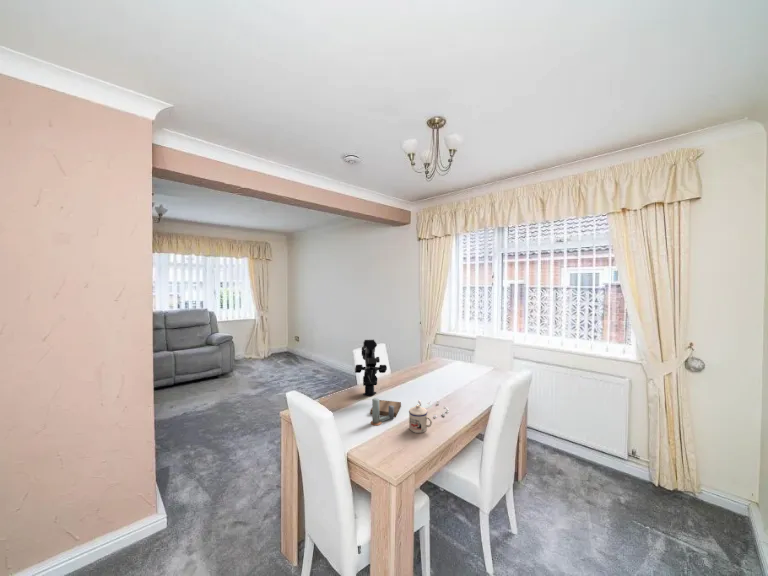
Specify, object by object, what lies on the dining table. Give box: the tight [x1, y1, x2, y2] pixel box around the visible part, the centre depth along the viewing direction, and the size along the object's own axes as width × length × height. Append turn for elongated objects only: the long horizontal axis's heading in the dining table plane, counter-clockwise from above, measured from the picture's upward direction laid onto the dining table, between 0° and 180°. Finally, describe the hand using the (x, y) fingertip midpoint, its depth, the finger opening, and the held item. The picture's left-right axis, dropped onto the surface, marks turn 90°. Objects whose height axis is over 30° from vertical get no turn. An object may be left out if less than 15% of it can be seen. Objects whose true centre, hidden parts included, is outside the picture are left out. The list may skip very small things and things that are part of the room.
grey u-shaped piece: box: [371, 397, 395, 423], centre depth 153 cm, size 12×4×12 cm, turn 118°
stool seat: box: [370, 399, 402, 426], centre depth 160 cm, size 14×25×2 cm, turn 165°
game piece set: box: [417, 399, 450, 419], centre depth 165 cm, size 19×20×4 cm
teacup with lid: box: [408, 404, 433, 434], centre depth 144 cm, size 12×9×12 cm
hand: (371, 382), depth 172 cm, fingers closed
